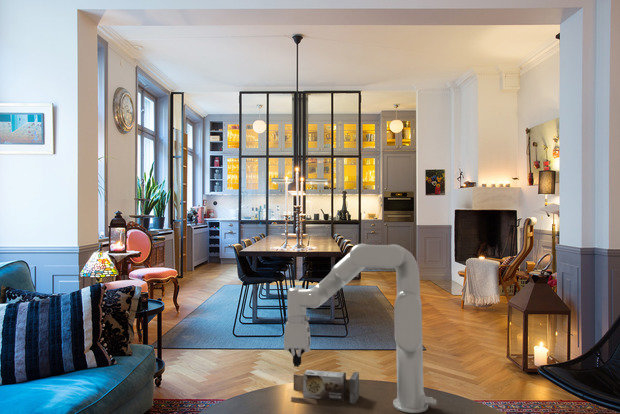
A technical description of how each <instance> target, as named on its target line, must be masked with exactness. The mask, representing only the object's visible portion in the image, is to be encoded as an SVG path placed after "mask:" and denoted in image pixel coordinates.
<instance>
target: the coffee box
mask: <svg viewBox="0 0 620 414" xmlns="http://www.w3.org/2000/svg"><path fill="white" fill-rule="evenodd" d="M302 375H303V391H302V392H303V393H302V398H308V399H317V400H326V401H340V402H344V401H345V399H346V397H347V395H346V379H347V372H343V371H325V370H311V369H306V370H305V372H304V373H303V374H302Z"/></svg>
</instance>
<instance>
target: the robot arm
mask: <svg viewBox="0 0 620 414" xmlns="http://www.w3.org/2000/svg"><path fill="white" fill-rule="evenodd" d="M366 268H367V269H368V268H371V269H394V271H395V275H396V281H395V282H396V298H395V299H394V305H393V306H394V308H393V309H394V310H393V312H394V313H393V314H394V316H393V317H394V322H393V323H394V340H395V341H394V342H395V343H396V348H395V349H396V351H395V352H396V398H395V399H393V402H392V404H393V407H394V408H395V409H396V410H398V411H400V412H403V413H409V414H419V413H423V412H426V411H427V410H428V409H429V405H431V406H437V399H435V398H434V397H432V396H427V395H425V393H426V392H424V360H423V359H424V355H423V353H424V352H423V351H424V350H423V348H424V346H423V310H422V309H423V307H422V304H423V303H422V300H421V285H420V270H419V265H418V263H417V259H416V258H415V257H414V254H412V253H411V252H410V251H409V250H408V249H406V248H405V247H403V246H401V245H399V244H395V243H394V244H393V243H391V244H367V243H358V244H356V245H354V246H353V247H352V248H351V249H350V251H349V252H348V253H346V255H345V256H344V257H343V258H342V259H340V260H339V261H338V262H337V263H336V264H334V265H333V266H332V267H331V270H330V272H329V273H328V274H327V275H326V276H325V277H324V278H323V279H322V280H321V281H319V283H317V284H316V285H315V286H313V287H311V288H309V289H307V288H306V289H305V288H304V287H289V289H287V294H286V295H287V321H286V322H285V327H284V334H283V346H284V347H283V349H284V351H287V352H289V353H290V354H291V357H292V364H293V367H294V368H295V367H296V368H298V367H300V365H301V364H302V356H303V354H305V353H309V352H310V351H311V347H310V346H311V345H312V344H311V342H312V341H311V339H312V338H311V332H310V331H311V330H310V323H309V320H310V316H308V314H307V308H310V309H317V308H319V307H320V306H322V305H323V304H325V302H327V301H328V300H329V299H330V298H331V297H332V296H333V295H335V294H336V293H337V292H338V291H340V289H342V288H343V287H344V286H346V285H347V284H349V283H350V282H351V281H352V280H353V279H354V278H355V277H357V276H358V275H359V273H361V272H362V271H364V269H366Z"/></svg>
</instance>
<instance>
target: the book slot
mask: <svg viewBox="0 0 620 414" xmlns="http://www.w3.org/2000/svg"><path fill="white" fill-rule="evenodd" d="M293 390H295V391H302V392H303V374H300V373H299V374H298V373H294V374H293ZM348 395H350V396H349V404H350V403H351V404H352V405H356V404H355V403H357V401H358V399H359V396H360V372H359V371H353V373H352V374H351V376H350V378H346V396H348ZM290 402H294V403H302V404H311V405H317V404H318V399H313V398H303V397H297V396H291V397H290Z"/></svg>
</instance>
